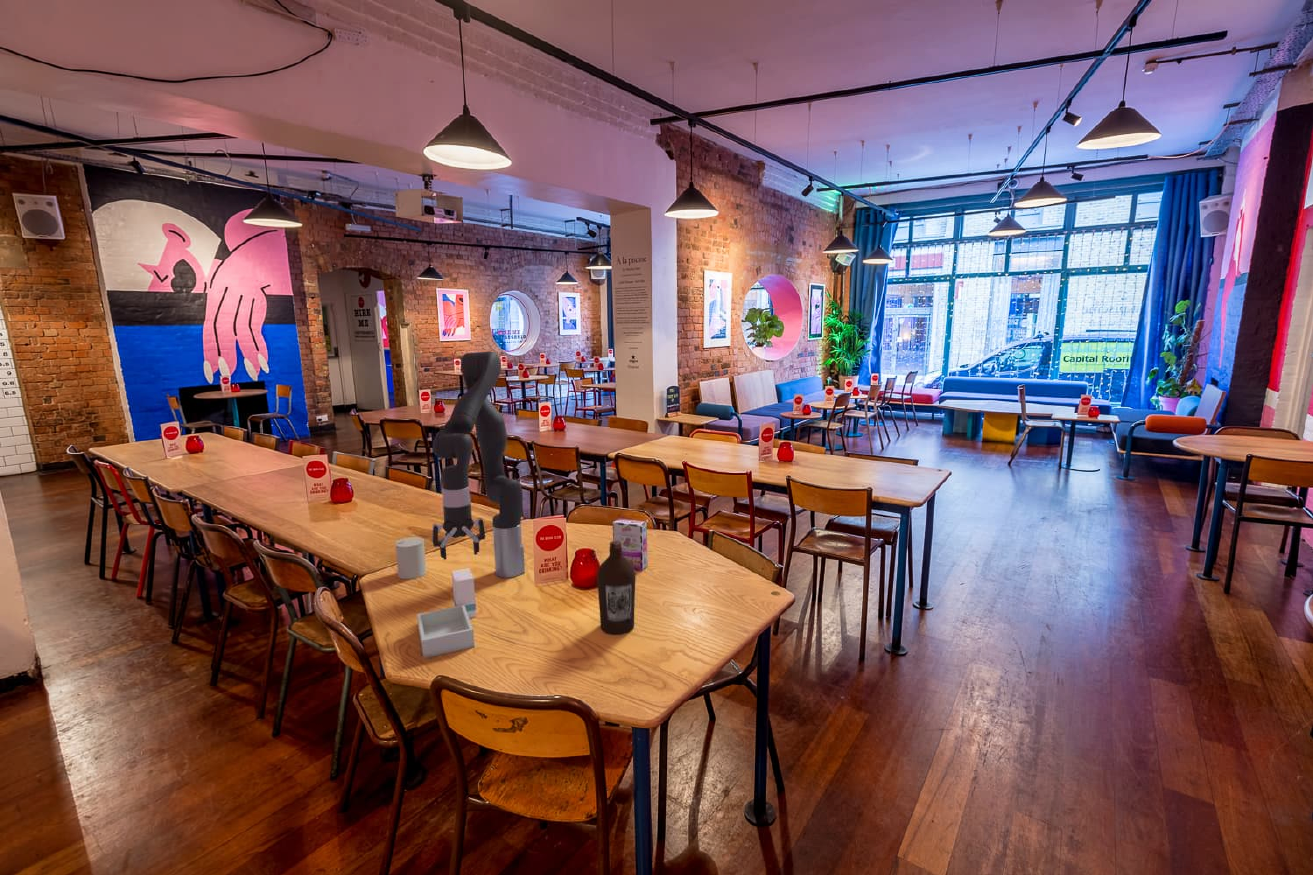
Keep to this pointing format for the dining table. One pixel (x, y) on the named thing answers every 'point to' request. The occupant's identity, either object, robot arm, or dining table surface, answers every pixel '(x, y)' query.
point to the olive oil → (616, 592)
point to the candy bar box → (632, 541)
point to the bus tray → (445, 631)
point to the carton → (464, 590)
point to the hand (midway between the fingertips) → (460, 556)
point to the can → (410, 558)
